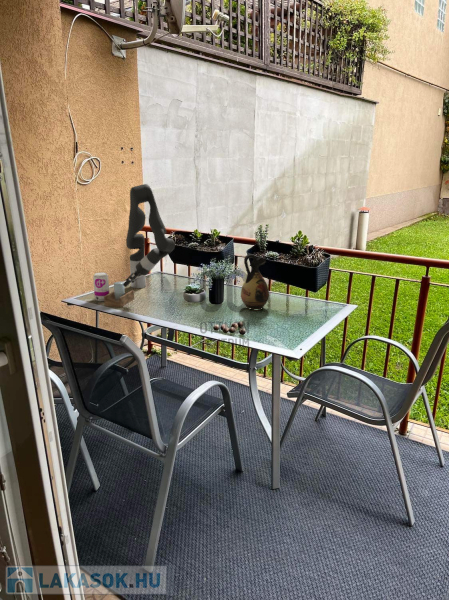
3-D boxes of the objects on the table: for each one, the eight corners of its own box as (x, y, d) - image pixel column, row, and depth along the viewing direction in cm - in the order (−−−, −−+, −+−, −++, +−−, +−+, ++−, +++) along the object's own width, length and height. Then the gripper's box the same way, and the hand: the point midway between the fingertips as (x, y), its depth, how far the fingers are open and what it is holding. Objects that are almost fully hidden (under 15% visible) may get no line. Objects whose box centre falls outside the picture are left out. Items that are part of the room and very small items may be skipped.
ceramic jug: (261, 302, 253) (264, 250, 244) (272, 311, 239) (275, 256, 230) (233, 305, 248) (234, 252, 239) (243, 313, 234) (244, 258, 225)
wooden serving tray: (118, 297, 258) (117, 288, 257) (134, 298, 256) (133, 290, 254) (104, 305, 244) (104, 296, 242) (121, 307, 241) (120, 298, 240)
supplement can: (107, 301, 250) (105, 275, 246) (93, 301, 251) (91, 275, 246) (111, 297, 258) (109, 272, 254) (97, 297, 258) (95, 272, 254)
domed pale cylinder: (119, 298, 253) (118, 281, 250) (127, 299, 251) (126, 282, 248) (112, 300, 248) (111, 283, 245) (120, 302, 246) (119, 284, 243)
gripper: (147, 257, 245) (129, 275, 251) (135, 262, 232) (117, 281, 238) (156, 267, 245) (138, 285, 252) (145, 273, 232) (126, 292, 238)
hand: (128, 283), depth 245 cm, fingers open, 8 cm apart
